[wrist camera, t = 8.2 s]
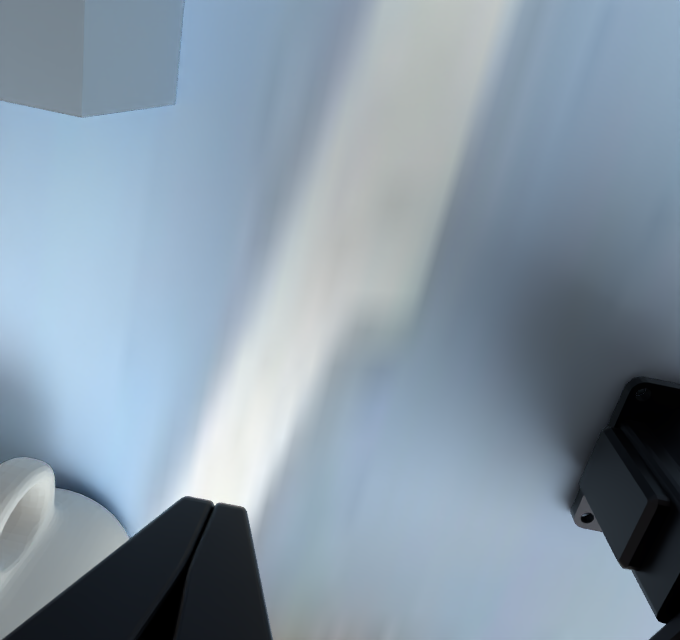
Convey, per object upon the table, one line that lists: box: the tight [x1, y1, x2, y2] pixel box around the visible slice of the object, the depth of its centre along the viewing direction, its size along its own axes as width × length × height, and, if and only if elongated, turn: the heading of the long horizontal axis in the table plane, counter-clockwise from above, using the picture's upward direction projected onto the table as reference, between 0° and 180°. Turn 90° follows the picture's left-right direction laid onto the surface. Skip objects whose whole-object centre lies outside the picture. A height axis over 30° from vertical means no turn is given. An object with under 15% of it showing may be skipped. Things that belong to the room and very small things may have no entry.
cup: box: [0, 457, 129, 640], centre depth 21 cm, size 11×8×8 cm
